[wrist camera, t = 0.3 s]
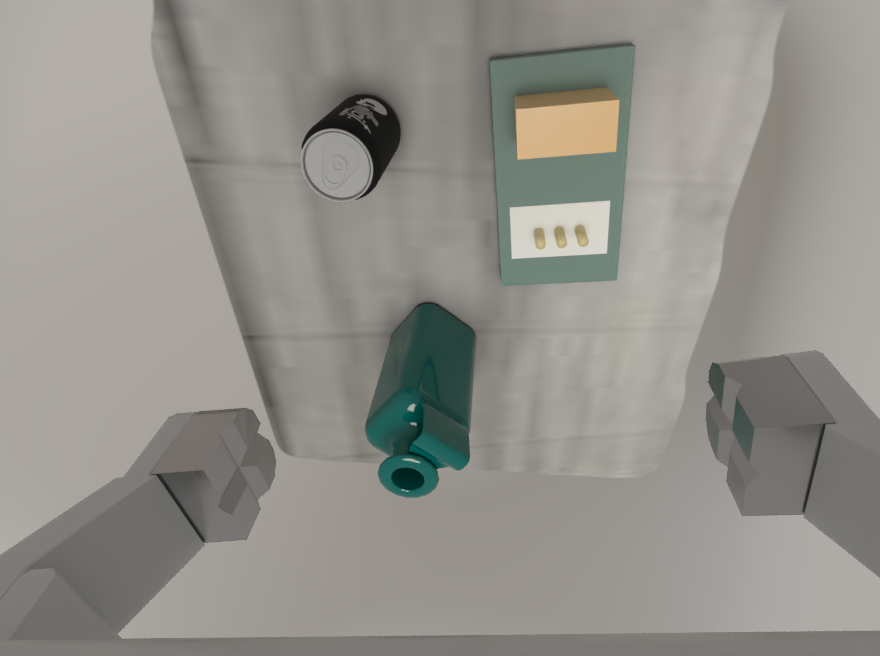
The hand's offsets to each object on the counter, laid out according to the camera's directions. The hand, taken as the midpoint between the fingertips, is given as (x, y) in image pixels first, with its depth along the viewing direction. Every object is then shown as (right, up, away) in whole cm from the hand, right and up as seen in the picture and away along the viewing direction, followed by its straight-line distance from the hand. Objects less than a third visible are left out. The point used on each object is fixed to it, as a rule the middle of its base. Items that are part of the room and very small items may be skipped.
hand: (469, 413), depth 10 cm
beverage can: (-7, +21, +42) cm, 48 cm away
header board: (+11, +16, +43) cm, 47 cm away
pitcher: (-1, +1, +55) cm, 55 cm away
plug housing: (+10, +21, +39) cm, 45 cm away
